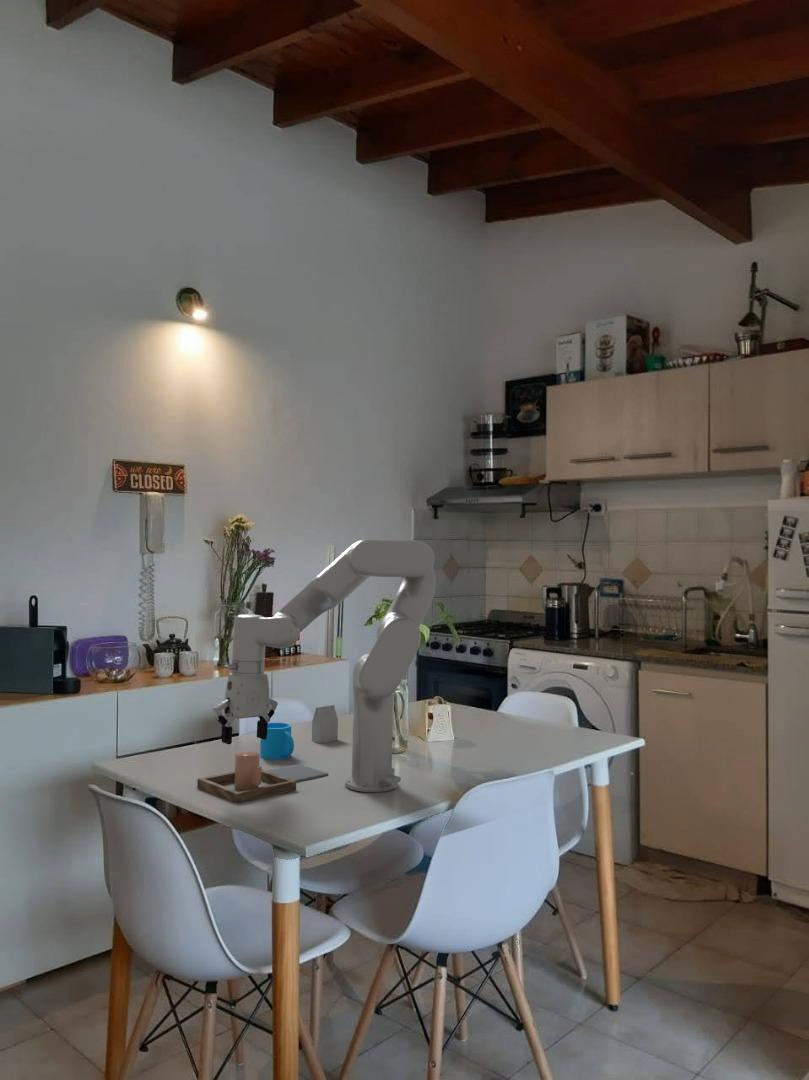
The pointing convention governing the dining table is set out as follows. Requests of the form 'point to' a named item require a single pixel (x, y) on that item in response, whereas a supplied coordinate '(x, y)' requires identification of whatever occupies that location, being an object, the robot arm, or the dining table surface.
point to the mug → (277, 742)
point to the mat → (298, 772)
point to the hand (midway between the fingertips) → (244, 740)
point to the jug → (247, 771)
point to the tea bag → (325, 724)
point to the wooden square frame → (278, 786)
